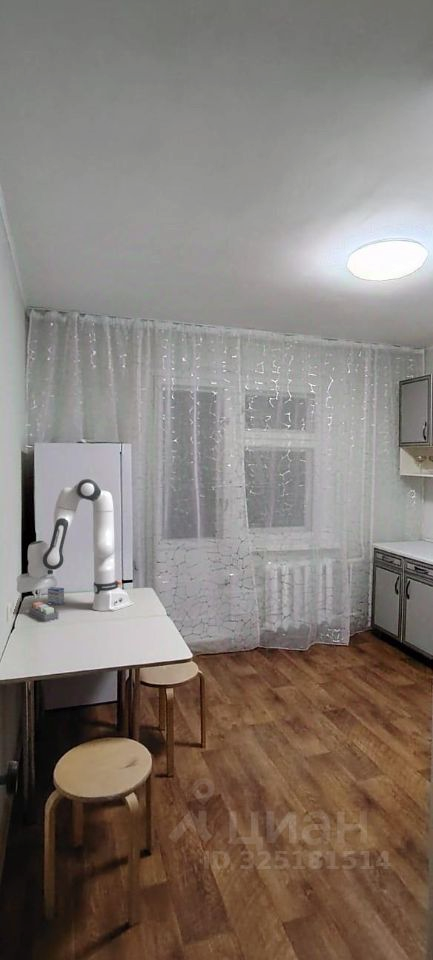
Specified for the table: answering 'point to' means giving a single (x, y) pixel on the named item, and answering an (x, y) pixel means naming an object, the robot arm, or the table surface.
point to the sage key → (48, 610)
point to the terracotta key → (35, 605)
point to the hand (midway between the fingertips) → (37, 598)
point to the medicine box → (56, 595)
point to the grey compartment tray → (43, 616)
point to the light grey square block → (40, 607)
